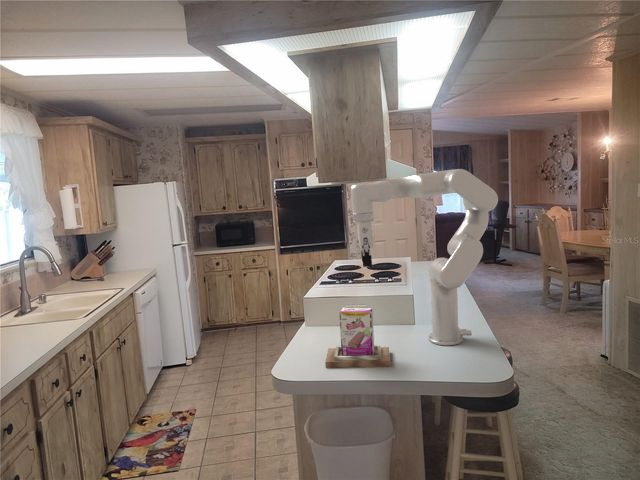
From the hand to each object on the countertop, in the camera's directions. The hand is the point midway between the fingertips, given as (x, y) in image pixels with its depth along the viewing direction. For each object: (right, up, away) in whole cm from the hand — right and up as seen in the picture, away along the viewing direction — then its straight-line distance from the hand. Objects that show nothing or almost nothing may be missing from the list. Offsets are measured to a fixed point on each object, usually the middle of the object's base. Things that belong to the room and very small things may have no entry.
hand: (366, 263), depth 159 cm
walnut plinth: (-4, -33, -7) cm, 34 cm away
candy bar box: (-4, -32, -8) cm, 33 cm away
